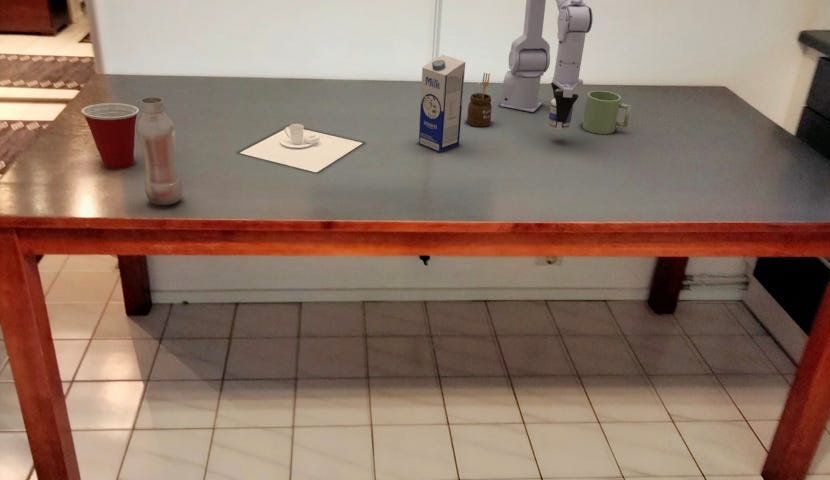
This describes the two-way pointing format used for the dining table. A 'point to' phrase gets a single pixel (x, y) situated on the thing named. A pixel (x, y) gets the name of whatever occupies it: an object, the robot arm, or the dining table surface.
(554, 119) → the pill bottle
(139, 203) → the dining table surface
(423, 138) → the milk carton
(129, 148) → the plastic cup
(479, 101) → the utensil holder
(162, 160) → the plastic bottle
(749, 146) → the dining table surface
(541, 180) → the dining table surface
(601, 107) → the mug
